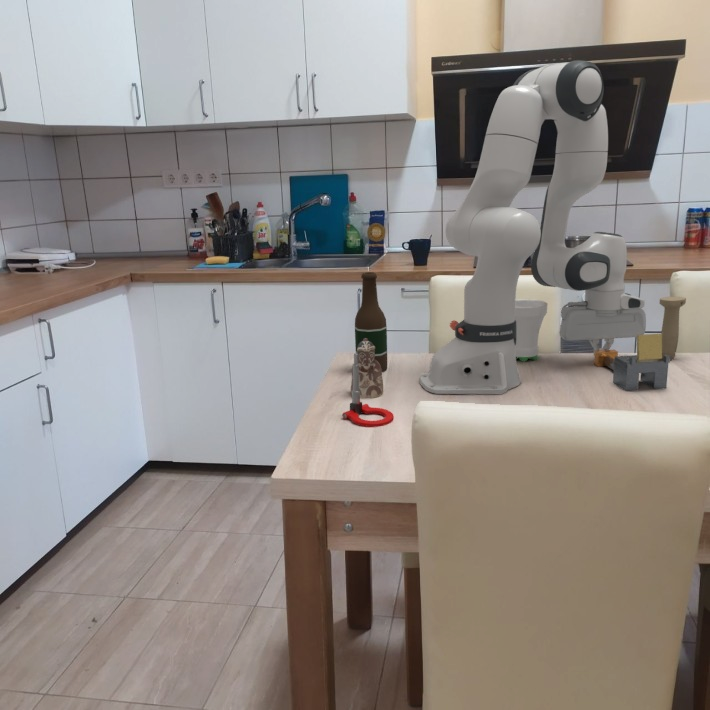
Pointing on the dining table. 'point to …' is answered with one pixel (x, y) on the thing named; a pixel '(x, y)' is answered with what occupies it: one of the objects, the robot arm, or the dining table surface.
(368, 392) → the figurine
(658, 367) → the block
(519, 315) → the cup
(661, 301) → the handle
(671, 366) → the dining table surface
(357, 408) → the tow hook
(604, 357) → the orange piece
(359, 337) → the beer bottle
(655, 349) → the keeper flap
